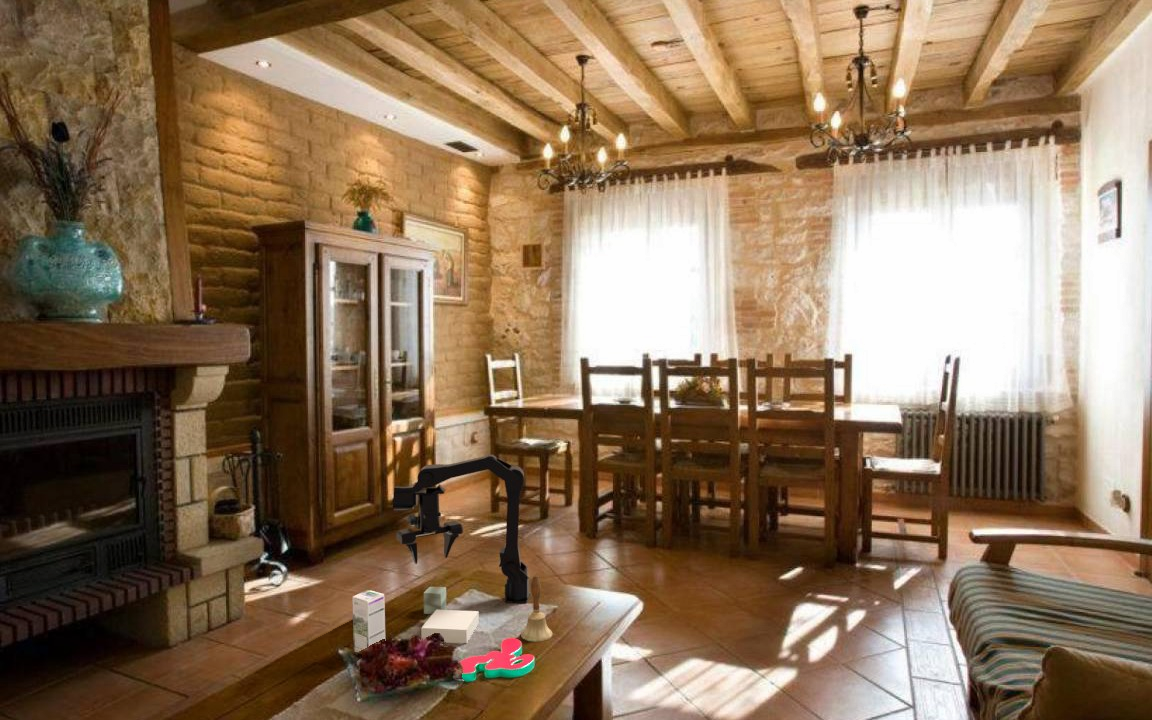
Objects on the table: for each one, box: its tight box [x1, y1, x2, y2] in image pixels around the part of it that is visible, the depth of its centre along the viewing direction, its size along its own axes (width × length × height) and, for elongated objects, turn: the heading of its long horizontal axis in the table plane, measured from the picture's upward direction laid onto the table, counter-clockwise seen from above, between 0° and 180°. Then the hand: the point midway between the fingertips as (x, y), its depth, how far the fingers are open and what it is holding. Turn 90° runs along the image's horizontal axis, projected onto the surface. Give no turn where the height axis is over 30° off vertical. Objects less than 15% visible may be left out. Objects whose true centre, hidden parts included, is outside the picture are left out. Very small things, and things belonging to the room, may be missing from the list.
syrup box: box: [352, 589, 386, 653], centre depth 173 cm, size 6×6×14 cm
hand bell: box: [520, 574, 553, 643], centre depth 182 cm, size 8×8×16 cm
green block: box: [423, 586, 447, 615], centre depth 199 cm, size 5×5×6 cm
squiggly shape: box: [459, 637, 536, 683], centre depth 166 cm, size 20×16×2 cm
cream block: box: [420, 609, 480, 644], centre depth 184 cm, size 12×12×4 cm
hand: (430, 560), depth 205 cm, fingers open, 9 cm apart
